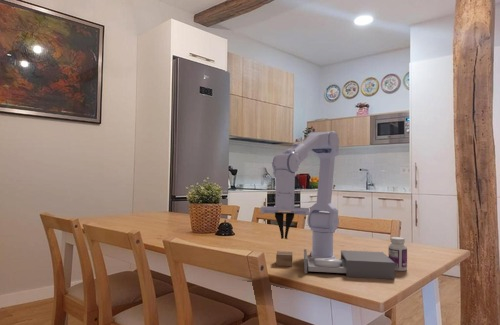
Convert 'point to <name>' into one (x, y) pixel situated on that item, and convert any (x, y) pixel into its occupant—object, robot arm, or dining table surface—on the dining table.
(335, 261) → the disc
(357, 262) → the block
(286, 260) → the pedestal
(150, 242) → the dining table surface
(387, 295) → the dining table surface
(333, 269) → the grey shallow open box
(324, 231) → the robot arm
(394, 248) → the pill bottle
